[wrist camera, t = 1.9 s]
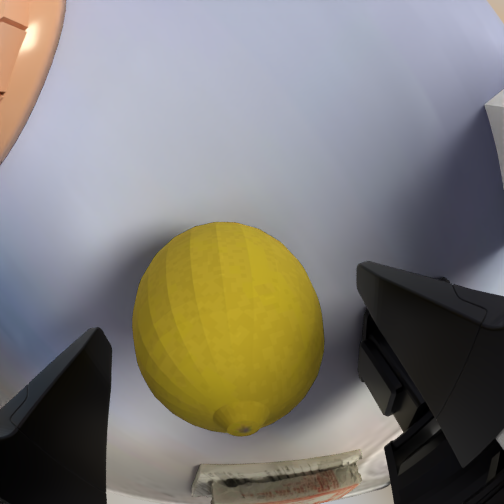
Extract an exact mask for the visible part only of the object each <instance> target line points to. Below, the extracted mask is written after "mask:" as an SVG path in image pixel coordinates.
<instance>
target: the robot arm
mask: <svg viewBox="0 0 504 504" xmlns="http://www.w3.org/2000/svg"><path fill="white" fill-rule="evenodd" d="M357 289H358V292H359V294H360V296H361V297H362V299H363V301H364V303H365V305H366V307H367V310H366V311H365V313H364V322H363V337H362V342H361V344H360V350H359V361H358V372H359V378H360V380H361V381H362V382H365V384H366V385H367V387H368V389H369V391H370V392H371V394H372V396H373V397H374V399H375V401H376V403H377V404H378V406H379V408H380V410H381V411H382V413H383V415H385V416H390V415H392V414H393V415H394V417H395V419H396V420H397V422H398V424H399V425H400V427H401V429H402V430H403V432H404V433H402V434H401V435H400V436H399V437H398V438H397V439H395V440H393V441H391V442H390V443H388V444H387V445H386V446H385V447H384V450H385V455H386V460H387V465H388V470H389V476H390V481H391V486H392V493H393V499H394V504H504V296H500V295H495V294H490V293H486V292H481V291H477V290H473V289H469V288H465V287H462V286H458V285H455V284H453V285H452V284H451V283H450V281H449V280H448V279H446V278H445V277H443V278H440V279H438V280H437V279H433V278H429V277H426V276H422V275H418V274H415V273H411V272H407V271H404V270H400V269H396V268H392V267H389V266H385V265H381V264H377V263H374V262H370V261H366V262H363V263H360V264H358V265H357ZM111 369H112V347H111V344H110V343H109V341H108V339H107V338H106V336H105V334H104V332H103V331H102V329H101V328H99V327H96V328H90V329H88V330H87V331H86V332H85V333H84V334H83V335H82V336H80V337H79V338H78V339H77V340H76V341H75V342H74V343H72V344H71V345H70V346H69V347H68V348H67V349H66V350H65V351H63V352H62V353H61V354H60V355H59V356H58V357H57V358H56V359H55V360H53V361H52V362H51V363H50V364H49V365H48V366H47V367H46V368H45V369H44V370H43V371H41V372H40V373H39V374H38V375H37V376H36V377H35V378H34V379H33V380H32V381H31V382H30V383H29V385H26V386H25V387H24V388H23V389H22V390H21V391H20V392H19V393H18V394H17V395H16V396H15V397H14V398H13V399H11V400H10V401H9V402H8V403H7V404H6V405H5V406H4V407H2V408H1V409H0V504H107V499H106V445H107V427H108V414H109V403H110V393H111Z"/></svg>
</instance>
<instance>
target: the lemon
mask: <svg viewBox="0 0 504 504" xmlns="http://www.w3.org/2000/svg"><path fill="white" fill-rule="evenodd" d="M132 329H133V339H134V346H135V353H136V358H137V363H138V366H139V368H140V371H141V374H142V376H143V378H144V379H145V381H146V383H147V385H148V387H149V388H150V390H151V391H152V393H153V394H154V396H155V397H156V398H157V399H158V400H159V401H160V402H161V403H162V404H163V405H164V406H165V407H166V408H167V409H169V410H170V411H171V412H172V413H173V414H175V415H176V416H178V417H180V418H181V419H183V420H185V421H187V422H188V423H190V424H192V425H195V426H198V427H201V428H204V429H207V430H211V431H216V432H223V433H229V434H231V435H233V436H248V435H251V434H254V433H255V432H257V431H258V430H259V429H260V428H262V427H265V426H267V425H269V424H272V423H274V422H275V421H277V420H279V419H280V418H282V417H283V416H285V415H286V414H288V413H289V412H290V411H291V410H292V409H293V408H294V407H296V406H297V405H298V404H299V403H300V401H301V400H302V399H303V398H304V397H305V396H306V394H307V393H308V391H309V389H310V388H311V386H312V384H313V383H314V381H315V379H316V377H317V375H318V372H319V369H320V365H321V361H322V357H323V353H324V342H325V341H324V330H323V320H322V313H321V308H320V304H319V300H318V297H317V294H316V292H315V290H314V288H313V286H312V283H311V281H310V279H309V277H308V275H307V273H306V271H305V270H304V268H303V266H302V265H301V263H300V262H299V261H298V260H297V259H296V258H295V257H294V256H293V254H292V253H291V252H290V251H289V250H288V249H287V248H286V247H285V246H284V245H283V244H282V243H281V242H280V241H278V240H276V239H275V238H273V237H271V236H270V235H268V234H266V233H265V232H263V231H261V230H260V229H257V228H254V227H250V226H247V225H243V224H239V223H235V222H213V223H209V224H204V225H200V226H195V227H193V228H191V229H189V230H187V231H185V232H183V233H182V234H180V235H178V236H176V237H174V238H173V239H172V240H171V241H170V242H169V243H168V244H166V245H165V246H164V247H163V248H162V249H161V250H160V251H159V252H158V253H157V254H156V255H155V257H154V258H153V260H152V262H151V263H150V265H149V267H148V268H147V270H146V272H145V273H144V275H143V277H142V279H141V281H140V283H139V287H138V291H137V295H136V300H135V305H134V309H133V318H132Z"/></svg>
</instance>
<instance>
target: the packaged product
mask: <svg viewBox="0 0 504 504" xmlns="http://www.w3.org/2000/svg"><path fill="white" fill-rule="evenodd" d="M360 459H362V452H361V450H360V449H359V450H355V451H350V452H346V453H341V454H336V455H330V456H323V457H316V458H310V459H302V460H293V461H283V462H271V463H254V464H201V465H200V467H199V469H198V472H197V475H196V478H195V480H194V482H193V485H192V497H200V496H206V497H212V500H211V504H320V503H324V502H328V501H332V500H336V499H339V498H341V497H343V496H344V495H346V494H347V493H349V492H350V491H352V490H353V489H354V488H355V487H357V486H358V485H359V484H360V483H361V481H362V479H361V475H360V474H359V473H358V468H357V465H356V462H357V461H358V460H360Z"/></svg>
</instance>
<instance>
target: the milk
mask: <svg viewBox="0 0 504 504" xmlns="http://www.w3.org/2000/svg"><path fill="white" fill-rule="evenodd" d="M484 105H485V109H486V112H487V115H488V118H489V122H490V125H491V129H492V133H493V137H494V141H495V145H496V149H497V154H498V159H499V164H500V169H501V175H502V181H503V188H504V89H503V90H502V91H500V92H499V93H498V94H497V95H496V96H494V97H493V98H492V99H491V100H489V101H488V102H487V103H486V104H484Z"/></svg>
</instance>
